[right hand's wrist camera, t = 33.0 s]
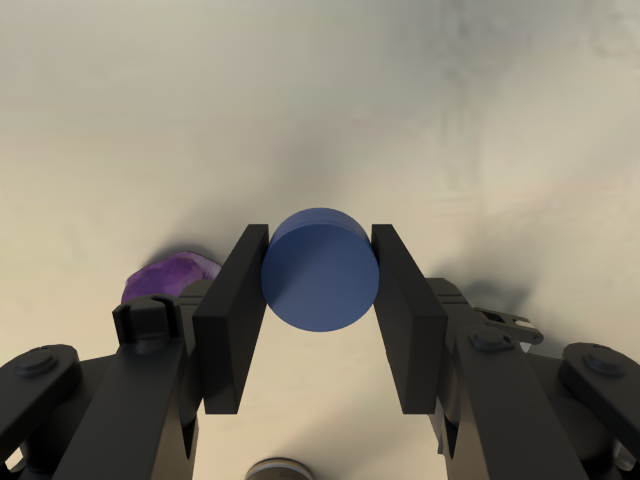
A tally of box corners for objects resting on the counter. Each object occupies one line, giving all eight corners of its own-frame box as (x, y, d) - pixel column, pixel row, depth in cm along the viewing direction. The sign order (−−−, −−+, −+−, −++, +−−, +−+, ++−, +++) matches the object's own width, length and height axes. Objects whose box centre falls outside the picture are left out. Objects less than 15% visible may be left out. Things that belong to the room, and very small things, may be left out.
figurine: (263, 296, 38) (231, 407, 24) (186, 338, 40) (114, 465, 26) (209, 223, 35) (137, 301, 21) (129, 272, 37) (13, 374, 23)
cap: (310, 320, 15) (309, 351, 13) (246, 248, 14) (234, 270, 12) (392, 266, 14) (403, 291, 12) (330, 185, 13) (332, 198, 11)
